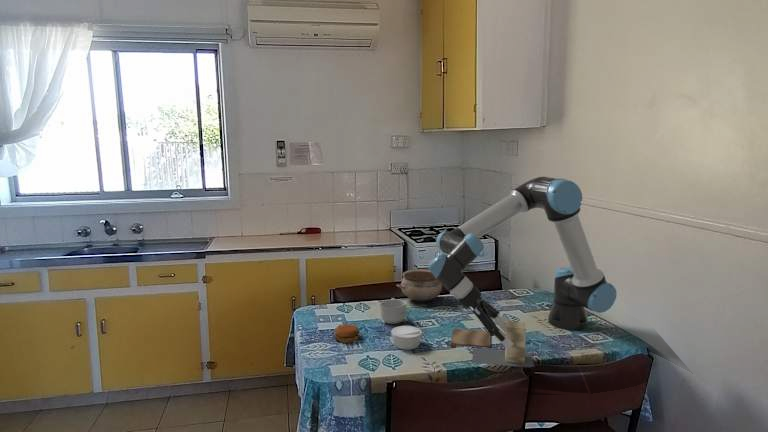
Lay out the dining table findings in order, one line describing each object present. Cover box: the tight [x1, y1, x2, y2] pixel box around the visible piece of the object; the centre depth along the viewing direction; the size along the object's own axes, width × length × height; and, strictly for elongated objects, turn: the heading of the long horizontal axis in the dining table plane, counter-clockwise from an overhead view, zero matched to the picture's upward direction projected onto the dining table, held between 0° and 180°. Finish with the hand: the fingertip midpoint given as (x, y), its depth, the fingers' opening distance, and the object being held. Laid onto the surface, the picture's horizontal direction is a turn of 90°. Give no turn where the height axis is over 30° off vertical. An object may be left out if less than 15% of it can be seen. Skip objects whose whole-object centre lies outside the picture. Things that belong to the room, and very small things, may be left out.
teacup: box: [379, 297, 407, 325], centre depth 214 cm, size 14×11×8 cm
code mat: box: [471, 348, 535, 368], centre depth 176 cm, size 20×12×1 cm, turn 79°
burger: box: [333, 323, 360, 344], centre depth 195 cm, size 10×9×5 cm
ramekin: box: [390, 325, 423, 350], centre depth 189 cm, size 11×11×5 cm
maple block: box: [504, 320, 527, 363], centre depth 175 cm, size 6×6×12 cm
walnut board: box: [450, 328, 491, 348], centre depth 193 cm, size 14×14×2 cm
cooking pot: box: [396, 269, 443, 303], centre depth 239 cm, size 25×19×12 cm
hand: (509, 338), depth 174 cm, fingers open, 13 cm apart
